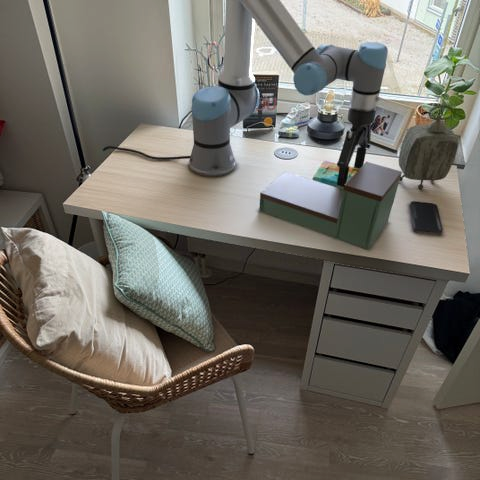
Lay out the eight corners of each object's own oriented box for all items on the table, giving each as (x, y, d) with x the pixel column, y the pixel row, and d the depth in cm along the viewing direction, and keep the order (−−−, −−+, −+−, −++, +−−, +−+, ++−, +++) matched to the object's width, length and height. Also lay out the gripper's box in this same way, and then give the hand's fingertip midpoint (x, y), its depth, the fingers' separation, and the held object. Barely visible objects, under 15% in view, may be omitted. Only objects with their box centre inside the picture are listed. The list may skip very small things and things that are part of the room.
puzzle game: (323, 158, 151) (385, 171, 146) (321, 172, 155) (382, 184, 149) (313, 174, 144) (377, 188, 138) (311, 188, 147) (374, 202, 142)
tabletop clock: (435, 178, 152) (463, 99, 134) (444, 193, 146) (475, 112, 128) (392, 178, 152) (414, 99, 134) (399, 193, 146) (423, 111, 128)
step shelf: (259, 210, 137) (261, 159, 126) (283, 189, 146) (288, 139, 135) (368, 249, 125) (382, 196, 113) (387, 223, 134) (402, 171, 122)
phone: (436, 203, 139) (443, 231, 129) (435, 206, 140) (441, 235, 130) (409, 200, 140) (414, 228, 130) (408, 203, 141) (412, 231, 131)
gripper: (358, 124, 122) (345, 197, 137) (390, 95, 137) (375, 163, 152) (332, 118, 124) (322, 190, 139) (366, 90, 139) (354, 158, 154)
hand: (349, 176), depth 146 cm, fingers open, 13 cm apart
